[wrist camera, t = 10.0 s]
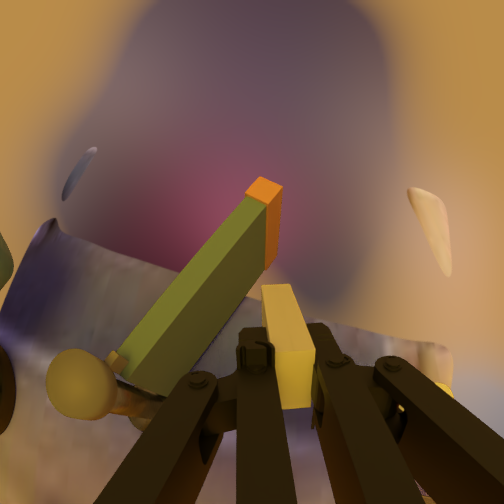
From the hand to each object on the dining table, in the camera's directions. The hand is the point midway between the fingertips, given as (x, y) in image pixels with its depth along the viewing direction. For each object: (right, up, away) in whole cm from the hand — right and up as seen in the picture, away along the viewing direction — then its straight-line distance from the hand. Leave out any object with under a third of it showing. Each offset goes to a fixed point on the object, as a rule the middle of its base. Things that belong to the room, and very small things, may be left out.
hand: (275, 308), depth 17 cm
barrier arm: (-6, -6, +16) cm, 18 cm away
